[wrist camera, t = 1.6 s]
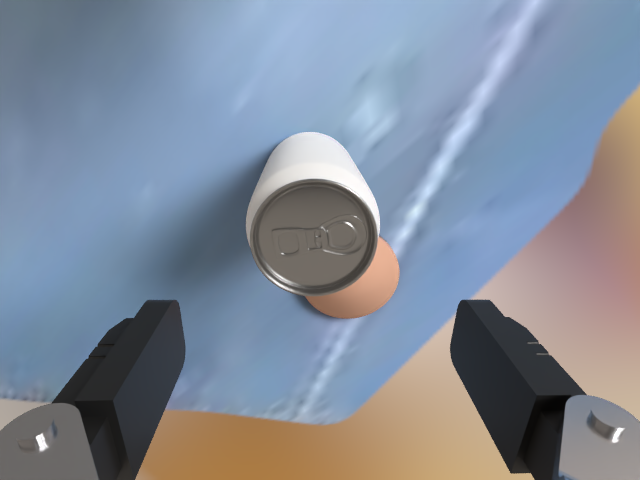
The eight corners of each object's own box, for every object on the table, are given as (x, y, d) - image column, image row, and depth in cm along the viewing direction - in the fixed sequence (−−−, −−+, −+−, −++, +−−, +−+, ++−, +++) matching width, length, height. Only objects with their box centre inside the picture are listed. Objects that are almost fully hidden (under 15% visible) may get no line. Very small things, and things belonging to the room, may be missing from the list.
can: (357, 211, 28) (391, 295, 17) (274, 222, 28) (255, 313, 17) (349, 124, 26) (383, 158, 15) (257, 137, 26) (224, 179, 15)
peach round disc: (300, 226, 29) (300, 230, 28) (402, 227, 29) (404, 231, 28) (300, 313, 32) (299, 318, 31) (391, 312, 32) (393, 318, 31)
